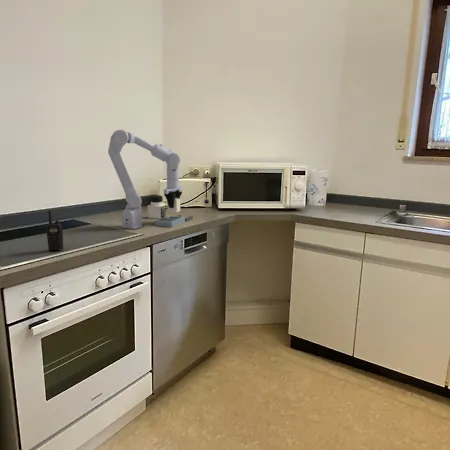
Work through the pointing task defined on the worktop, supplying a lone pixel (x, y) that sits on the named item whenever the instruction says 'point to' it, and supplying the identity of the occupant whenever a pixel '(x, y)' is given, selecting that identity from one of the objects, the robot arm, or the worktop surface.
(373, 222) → the worktop surface
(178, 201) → the plug
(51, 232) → the two-way radio
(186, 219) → the bracket
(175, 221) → the port panel
